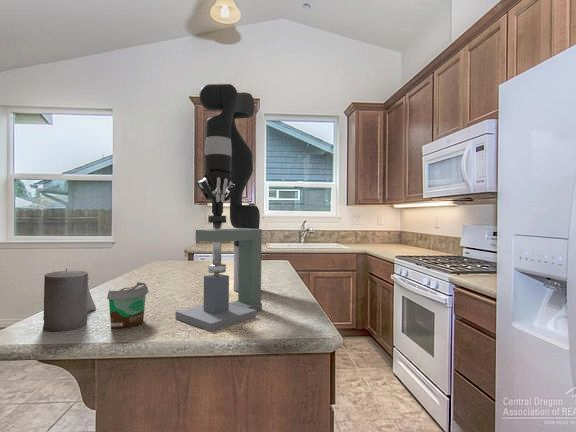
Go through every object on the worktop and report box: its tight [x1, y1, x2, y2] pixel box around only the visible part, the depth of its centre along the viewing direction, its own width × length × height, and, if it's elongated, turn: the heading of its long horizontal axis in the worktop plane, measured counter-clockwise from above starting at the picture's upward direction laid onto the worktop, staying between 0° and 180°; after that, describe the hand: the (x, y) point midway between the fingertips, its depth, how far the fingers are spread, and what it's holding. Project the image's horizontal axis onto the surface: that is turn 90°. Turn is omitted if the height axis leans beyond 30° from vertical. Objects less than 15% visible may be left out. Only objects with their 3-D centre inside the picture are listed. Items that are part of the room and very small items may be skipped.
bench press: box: [175, 228, 263, 332], centre depth 99 cm, size 23×16×25 cm
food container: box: [106, 281, 149, 330], centre depth 90 cm, size 12×6×10 cm, turn 168°
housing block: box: [203, 273, 230, 314], centre depth 96 cm, size 5×5×11 cm
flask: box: [87, 276, 97, 313], centre depth 102 cm, size 7×7×10 cm
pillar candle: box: [42, 268, 89, 332], centre depth 88 cm, size 10×10×15 cm
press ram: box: [207, 215, 227, 274], centre depth 96 cm, size 5×5×16 cm
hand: (217, 215), depth 96 cm, fingers closed
